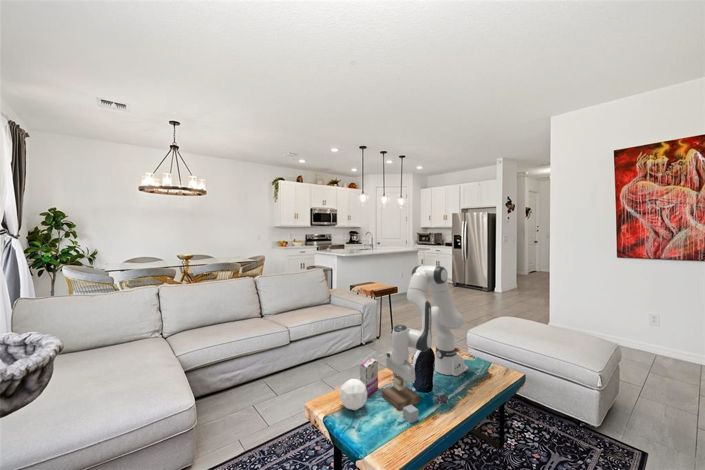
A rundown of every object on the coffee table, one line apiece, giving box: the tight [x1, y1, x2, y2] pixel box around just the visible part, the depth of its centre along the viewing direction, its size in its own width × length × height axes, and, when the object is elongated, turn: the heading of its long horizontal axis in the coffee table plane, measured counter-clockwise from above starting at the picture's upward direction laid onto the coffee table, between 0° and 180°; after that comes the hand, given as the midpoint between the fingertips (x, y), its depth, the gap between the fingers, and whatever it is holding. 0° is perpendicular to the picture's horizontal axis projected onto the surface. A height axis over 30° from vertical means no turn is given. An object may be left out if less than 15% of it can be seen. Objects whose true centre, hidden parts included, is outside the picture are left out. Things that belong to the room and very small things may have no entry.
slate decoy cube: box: [402, 405, 419, 424], centre depth 141 cm, size 5×5×5 cm
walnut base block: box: [381, 386, 421, 411], centre depth 157 cm, size 14×14×4 cm
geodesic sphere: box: [339, 378, 368, 411], centre depth 149 cm, size 15×14×14 cm
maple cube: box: [392, 375, 408, 391], centre depth 157 cm, size 5×5×5 cm
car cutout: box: [436, 394, 463, 405], centre depth 155 cm, size 15×7×4 cm, turn 102°
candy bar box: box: [359, 357, 379, 398], centre depth 165 cm, size 11×5×16 cm, turn 143°
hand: (400, 383), depth 157 cm, fingers closed on maple cube, 5 cm apart
